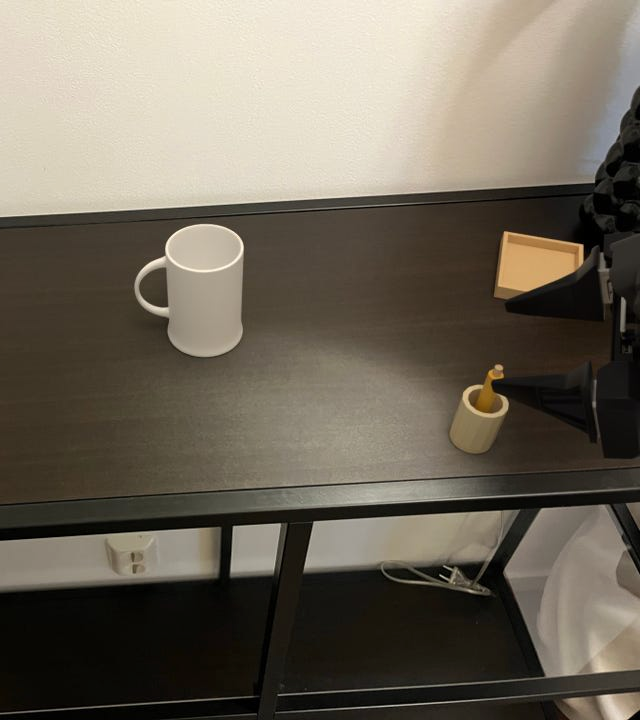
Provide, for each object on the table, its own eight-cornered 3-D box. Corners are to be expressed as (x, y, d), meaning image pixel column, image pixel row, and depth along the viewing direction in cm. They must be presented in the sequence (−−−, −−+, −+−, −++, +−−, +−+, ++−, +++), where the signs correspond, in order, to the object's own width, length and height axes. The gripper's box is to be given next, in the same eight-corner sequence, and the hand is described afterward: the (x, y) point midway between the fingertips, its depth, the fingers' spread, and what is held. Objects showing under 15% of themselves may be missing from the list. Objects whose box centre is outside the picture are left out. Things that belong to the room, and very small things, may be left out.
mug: (136, 357, 83) (127, 273, 74) (142, 305, 89) (135, 222, 80) (243, 358, 82) (247, 273, 73) (242, 306, 88) (245, 222, 79)
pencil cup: (493, 427, 74) (509, 390, 70) (490, 458, 71) (507, 422, 67) (451, 417, 75) (465, 380, 71) (446, 447, 72) (460, 411, 68)
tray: (500, 242, 94) (504, 231, 92) (578, 255, 91) (583, 244, 90) (493, 297, 87) (497, 286, 85) (577, 313, 84) (583, 302, 83)
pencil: (479, 431, 73) (507, 363, 66) (478, 441, 72) (506, 374, 65) (465, 427, 73) (491, 360, 66) (464, 437, 72) (490, 370, 65)
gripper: (734, 156, 52) (494, 194, 61) (758, 342, 41) (460, 355, 50) (735, 278, 58) (517, 296, 67) (756, 468, 47) (491, 459, 56)
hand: (498, 344), depth 60 cm, fingers open, 9 cm apart
